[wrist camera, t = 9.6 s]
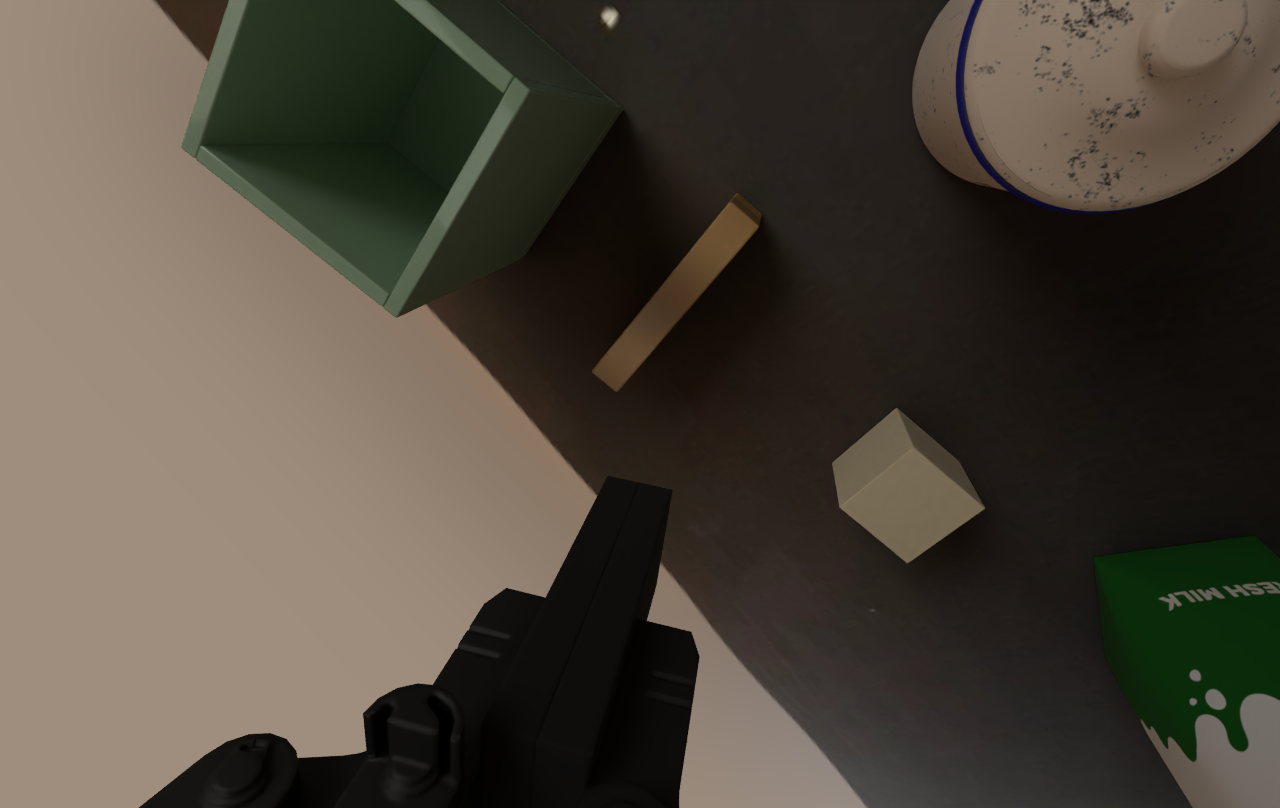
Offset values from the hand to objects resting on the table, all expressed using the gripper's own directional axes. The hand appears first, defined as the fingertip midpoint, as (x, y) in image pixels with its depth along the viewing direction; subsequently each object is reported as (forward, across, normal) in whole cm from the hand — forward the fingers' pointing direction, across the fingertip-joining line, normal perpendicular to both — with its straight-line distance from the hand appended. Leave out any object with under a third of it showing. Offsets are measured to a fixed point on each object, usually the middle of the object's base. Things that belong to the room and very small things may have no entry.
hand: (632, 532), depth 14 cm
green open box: (+17, -7, +5) cm, 19 cm away
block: (+19, +11, -6) cm, 23 cm away
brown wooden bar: (+19, -2, +2) cm, 19 cm away
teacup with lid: (+19, +12, +13) cm, 26 cm away
